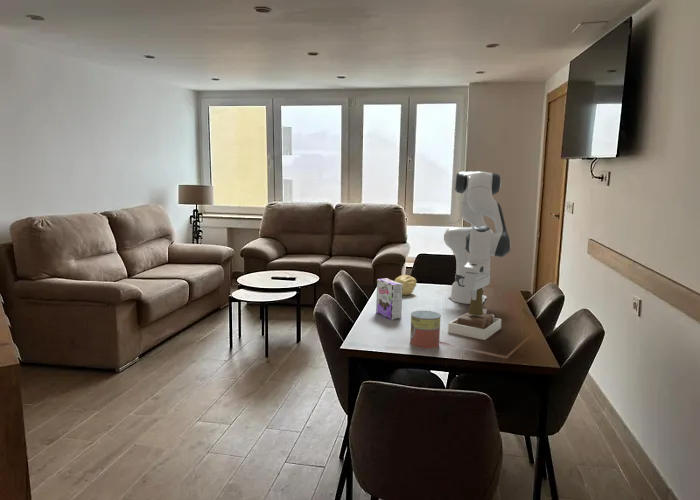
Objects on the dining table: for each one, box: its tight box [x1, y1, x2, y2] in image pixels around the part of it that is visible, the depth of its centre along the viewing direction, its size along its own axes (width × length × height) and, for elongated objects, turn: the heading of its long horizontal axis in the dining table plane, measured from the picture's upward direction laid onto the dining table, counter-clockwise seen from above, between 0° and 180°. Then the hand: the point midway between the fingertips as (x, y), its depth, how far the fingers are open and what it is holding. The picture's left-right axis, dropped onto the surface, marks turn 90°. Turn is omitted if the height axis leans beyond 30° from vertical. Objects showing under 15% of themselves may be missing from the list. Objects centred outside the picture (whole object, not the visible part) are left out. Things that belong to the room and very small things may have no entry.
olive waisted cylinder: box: [467, 288, 484, 315], centre depth 208 cm, size 6×6×11 cm
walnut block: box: [457, 312, 494, 329], centre depth 210 cm, size 14×10×6 cm
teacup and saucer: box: [483, 308, 495, 318], centre depth 234 cm, size 9×8×4 cm
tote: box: [447, 312, 502, 341], centre depth 210 cm, size 20×16×5 cm
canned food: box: [409, 310, 442, 351], centre depth 193 cm, size 11×11×12 cm
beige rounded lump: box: [394, 274, 417, 296], centre depth 276 cm, size 12×12×11 cm
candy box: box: [375, 277, 403, 321], centre depth 232 cm, size 14×6×16 cm, turn 27°
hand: (476, 298), depth 208 cm, fingers closed on olive waisted cylinder, 4 cm apart
